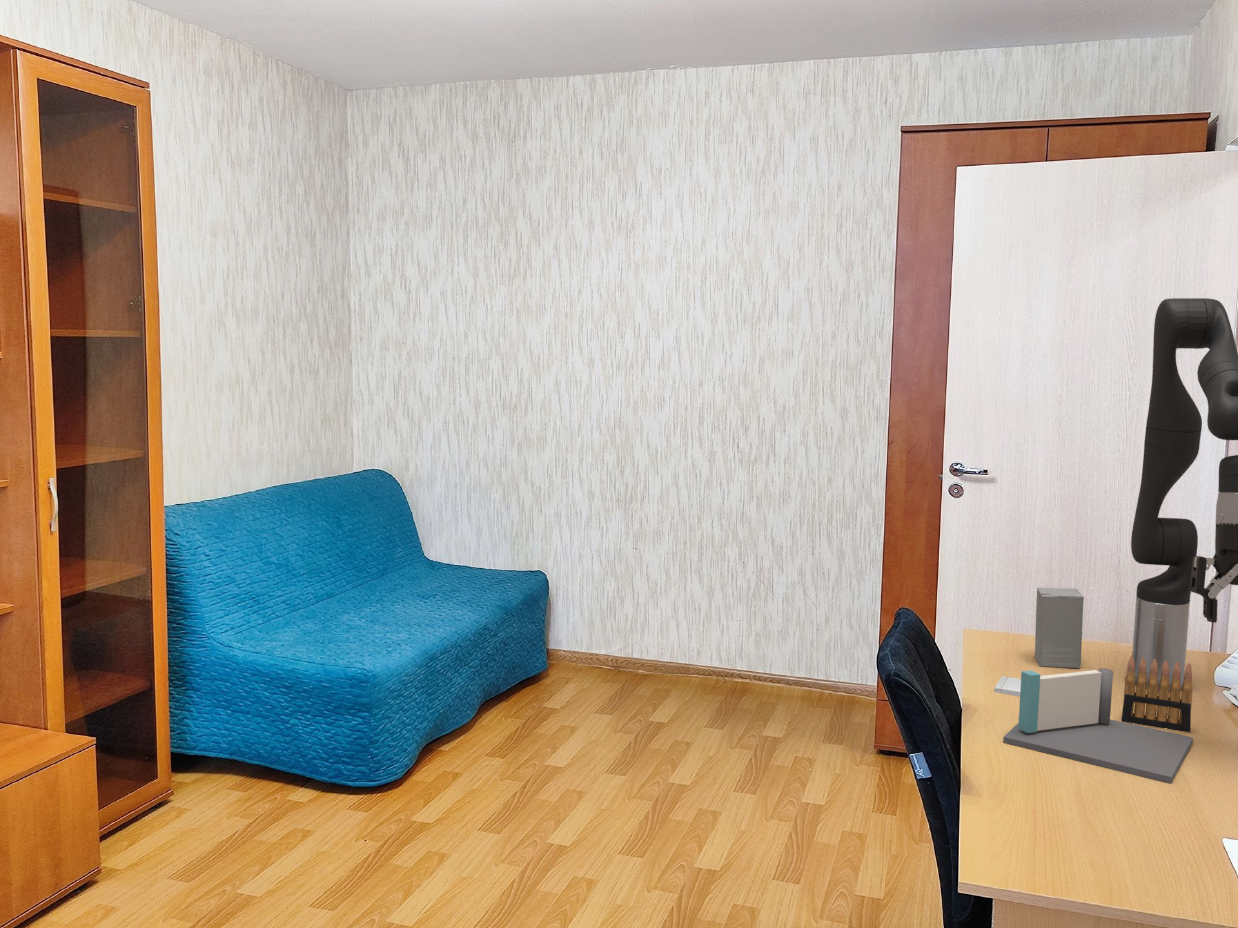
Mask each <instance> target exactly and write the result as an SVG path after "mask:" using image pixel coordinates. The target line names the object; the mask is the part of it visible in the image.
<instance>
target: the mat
mask: <svg viewBox="0 0 1238 928" xmlns="http://www.w3.org/2000/svg"><path fill="white" fill-rule="evenodd" d="M1018 724H1019V721H1018V722H1017V723H1016V724H1015V725H1014V726H1013V727H1011V729H1010V730H1009V731H1008V732H1007V733H1005V735H1004V736H1003V743H1005V744H1009V745H1013V746H1016V747H1020V748H1024V749H1028V748H1029V750H1033V751H1037V752H1041V753H1045V754H1049V755H1053V756H1057V757H1061V758H1065V759H1068V760H1069V759H1070V760H1073V761H1077V762H1082V763H1086V764H1090V765H1094V766H1099V767H1102V768H1107V769H1110V770H1114V771H1118V772H1123V773H1127V774H1132V775H1134V776H1139V777H1144V778H1147V779H1151V780H1155V781H1159V782H1163V783H1168V784H1172V782H1173V780H1174V779H1175V777H1176V775H1177V773H1178V772H1179V770H1180V767H1181V766H1182V764H1183V762H1184V759H1185V758H1186V757H1187V754H1188V752H1189V751H1190V749H1191V747H1192V746H1193V743H1194V742H1193V741H1194V736H1188V735H1185V734H1179V733H1175V732H1170V731H1165V730H1160V729H1158V728H1157V729H1156V728H1153V727H1152V728H1150V727H1149V726H1144V725H1139V724H1133V723H1127V722H1122V721H1121V720H1120V721H1119V720H1115V719H1111V718H1110V722H1109V723H1100V722H1098V723H1094V724H1086V725H1078V726H1070V727H1062V728H1055V729H1047V730H1039V731H1037V732H1031V733H1026V732H1024V731H1022V730H1021V729H1019V728H1018Z"/></svg>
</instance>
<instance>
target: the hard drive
mask: <svg viewBox="0 0 1238 928" xmlns="http://www.w3.org/2000/svg"><path fill="white" fill-rule="evenodd" d="M1020 689H1021V678H1015V677H1009V676H1003V675H1002V676H1001V677H1000V679H999V680H998V682H997V683H996V684H995V687H994V690H993V692H994V693H997V694H1003V695H1008V696H1009V695H1010V696H1013V697H1019V698H1020Z"/></svg>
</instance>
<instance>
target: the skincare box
mask: <svg viewBox="0 0 1238 928" xmlns="http://www.w3.org/2000/svg"><path fill="white" fill-rule="evenodd" d="M1036 590H1037V591H1036V604H1035V607H1036V611H1035V635H1034V636H1035V638H1034V640H1035V641H1034V658H1035V660H1036V662H1037V664H1038V666H1039V667H1042V668H1043V667H1045V668H1046V667H1049V668H1070V669H1071V668H1072V669H1080V668H1081V667H1082V647H1083V646H1082V641H1083V640H1082V639H1083V622H1084V621H1083V620H1084V619H1083V618H1084V617H1083V615H1084V600H1085V599H1084V598H1085V596H1084V595H1082V593H1081V592H1080V591H1079V589H1078V588H1072V587H1071V588H1068V587H1067V588H1066V587H1065V588H1062V587H1058V588H1057V587H1036Z"/></svg>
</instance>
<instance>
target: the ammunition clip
mask: <svg viewBox="0 0 1238 928" xmlns="http://www.w3.org/2000/svg"><path fill="white" fill-rule="evenodd" d="M1125 674H1126V675H1125V678H1124V691H1123V702H1122V703H1123V704H1122V711H1121V720H1120V722H1125V723H1129V724H1133V723H1135V724H1134V725H1139V726H1145V727H1152V728H1153V727H1154V728H1157V729H1164V728H1167V729H1166V730H1170V729H1171V730H1170V731H1176V730H1177V731H1179V732H1182V733H1183V732H1184V733H1191V729H1192V728H1191V725H1192V724H1191V723H1192V721H1191V719H1192V717H1191V715H1192V702H1193V689H1194V688H1193V670H1192V665H1191V663H1187V665H1186V666H1185V670H1184V681H1183V685H1182V690H1181V683H1180V680H1181V678H1180V676H1181V671H1180V665H1179V662H1176V664H1175V666H1174V670H1173V677H1172V682H1171V685H1170V684H1169V665H1168V662H1167V660H1165V662H1164V664H1163V667H1162V672H1161V679H1160V683H1159V691H1158V666H1157V661H1156V659H1154V660H1153V662H1152V664H1151V668H1150V675H1149V680H1148V687H1147V680H1146V661H1145V658H1144V657H1143V658H1142V659H1141V661H1140V665H1139V672H1138V677H1137V681H1136V685H1135V662H1134V658H1133V656H1132V655H1130V657H1129V659H1128V662H1127V670H1126V673H1125ZM1146 687H1147V688H1146ZM1169 688H1170V692H1169Z"/></svg>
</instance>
